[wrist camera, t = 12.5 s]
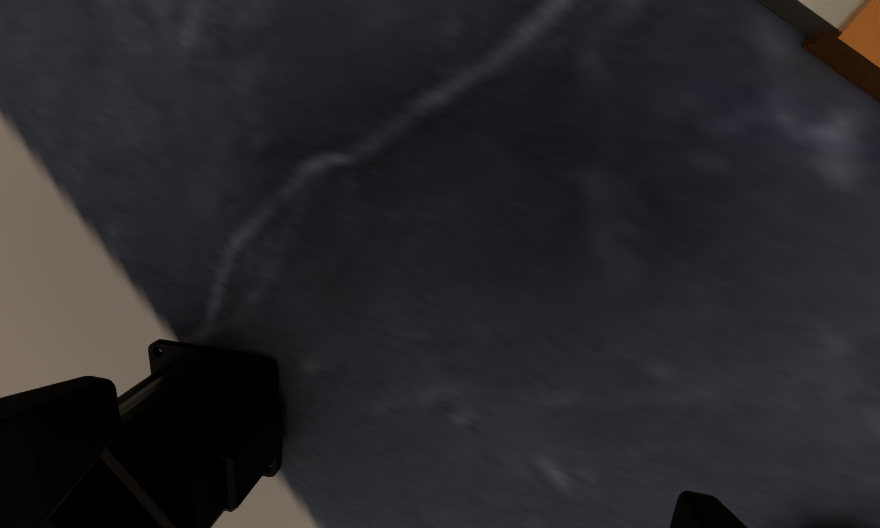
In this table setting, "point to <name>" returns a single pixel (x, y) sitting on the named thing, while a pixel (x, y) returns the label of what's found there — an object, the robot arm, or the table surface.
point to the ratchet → (839, 35)
